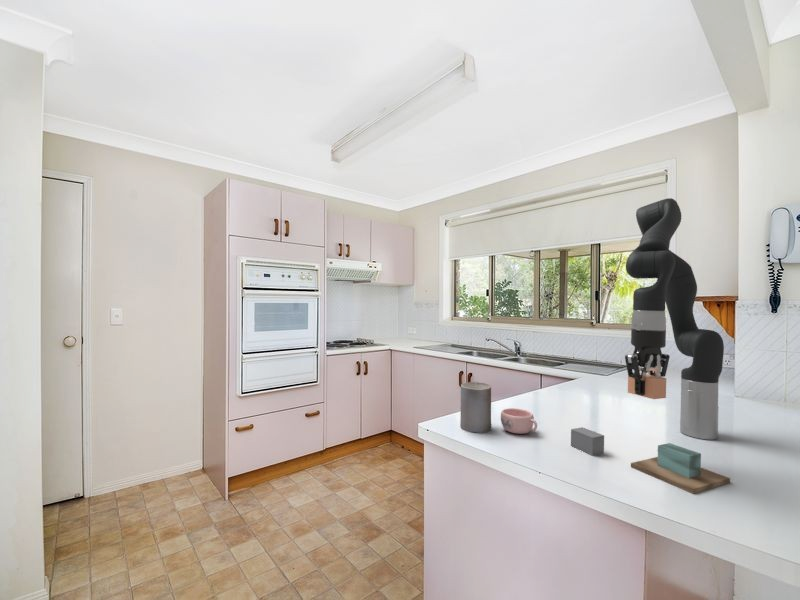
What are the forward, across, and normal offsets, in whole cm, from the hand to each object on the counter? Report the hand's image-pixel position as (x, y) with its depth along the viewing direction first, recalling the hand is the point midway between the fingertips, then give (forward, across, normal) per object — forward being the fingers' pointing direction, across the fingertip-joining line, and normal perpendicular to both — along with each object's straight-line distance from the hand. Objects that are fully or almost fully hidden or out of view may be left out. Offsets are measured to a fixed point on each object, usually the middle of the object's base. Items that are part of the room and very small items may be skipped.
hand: (646, 393), depth 98 cm
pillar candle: (+18, +28, -36) cm, 49 cm away
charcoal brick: (+18, +8, -11) cm, 22 cm away
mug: (+18, +17, -28) cm, 38 cm away
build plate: (+17, 0, +8) cm, 19 cm away
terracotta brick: (0, 0, 0) cm, 0 cm away
